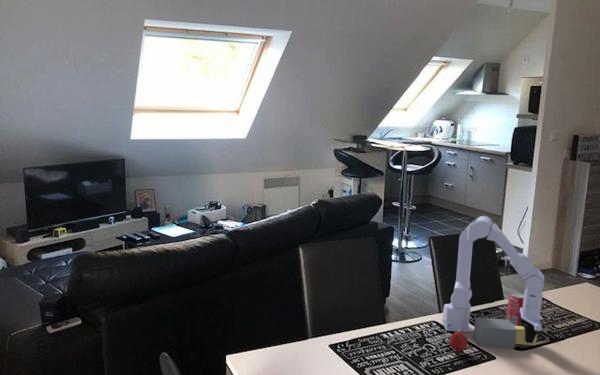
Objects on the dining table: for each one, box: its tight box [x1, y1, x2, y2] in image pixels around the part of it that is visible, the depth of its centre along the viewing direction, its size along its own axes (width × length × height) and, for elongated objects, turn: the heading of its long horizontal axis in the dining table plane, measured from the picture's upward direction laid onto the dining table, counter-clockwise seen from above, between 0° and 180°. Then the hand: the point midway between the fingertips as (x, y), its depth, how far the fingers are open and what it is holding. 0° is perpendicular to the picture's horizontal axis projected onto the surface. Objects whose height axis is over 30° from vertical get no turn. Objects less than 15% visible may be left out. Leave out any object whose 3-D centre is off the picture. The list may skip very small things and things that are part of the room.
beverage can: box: [505, 292, 524, 326], centre depth 186 cm, size 6×6×12 cm
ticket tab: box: [515, 326, 538, 346], centre depth 172 cm, size 16×2×6 cm, turn 86°
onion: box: [449, 330, 468, 353], centre depth 164 cm, size 6×6×8 cm
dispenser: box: [473, 317, 517, 349], centre depth 172 cm, size 12×8×7 cm, turn 86°
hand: (527, 340), depth 172 cm, fingers closed on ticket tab, 2 cm apart
